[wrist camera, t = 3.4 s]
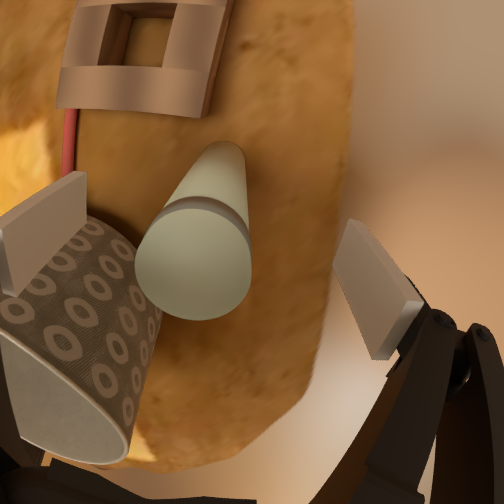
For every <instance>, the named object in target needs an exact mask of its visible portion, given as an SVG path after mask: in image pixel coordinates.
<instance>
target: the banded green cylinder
mask: <svg viewBox="0 0 504 504" xmlns="http://www.w3.org/2000/svg"><path fill="white" fill-rule="evenodd" d="M251 268H252V247H251V238H250V233H249V219H248V203H247V186H246V169H245V158H244V155H243V153H242V151H241V150H240V148H239V147H238V146H236V145H235V144H233V143H231V142H227V141H217V142H214V143H212V144H210V145H208V146H207V147H206V148H205V149H204V151H203V152H202V153H201V155H200V156H199V157H198V159H197V160H196V162H195V163H194V164H193V166H192V167H191V168H190V170H189V171H188V173H187V174H186V175H185V177H184V178H183V180H182V181H181V183H180V184H179V185H178V187H177V188H176V190H175V191H174V193H173V194H172V196H171V197H170V199H169V200H168V202H167V203H166V205H165V206H164V208H163V209H162V210H161V211H160V212H159V213H158V215H157V216H156V217H155V219H154V220H153V222H152V224H151V225H150V227H149V228H148V230H147V231H146V233H145V235H144V237H143V240H142V242H141V244H140V245H139V247H138V250H137V253H136V257H135V274H136V278H137V281H138V284H139V286H140V288H141V290H142V291H143V293H144V294H145V296H146V297H147V298H148V299H149V300H150V301H151V302H152V303H153V304H154V305H155V306H157V307H158V308H159V309H161V310H163V311H164V312H166V313H168V314H170V315H173V316H175V317H178V318H182V319H187V320H209V319H214V318H217V317H220V316H223V315H225V314H227V313H229V312H230V311H232V310H233V309H234V308H236V307H237V306H238V305H239V304H240V303H241V302H242V301H243V299H244V298H245V296H246V294H247V292H248V290H249V287H250V284H251V278H252V269H251Z"/></svg>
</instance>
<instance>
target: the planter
mask: <svg viewBox="0 0 504 504" xmlns="http://www.w3.org/2000/svg"><path fill="white" fill-rule="evenodd" d="M136 253H137V249H136V248H135V247H134V246H133V245H132V244H131V243H130V242H129V241H128V240H127V239H126V238H125V237H124V236H123V235H121V234H120V233H119V232H118V231H116V230H115V229H113V228H112V227H110V226H109V225H107V224H106V223H104V222H102V221H100V220H98V219H96V218H94V217H92V216H89V215H87V223H86V224H85V225H84V226H83V227H82V228H81V229H80V230H79V231H78V232H77V233H76V234H75V235H74V236H73V237H72V238H71V239H70V240H69V241H68V242H67V243H66V244H65V245H64V246H63V247H62V248H61V249H60V250H59V251H58V252H57V253H56V254H55V255H54V256H53V257H52V258H51V259H50V260H49V261H48V263H47V264H46V265H45V266H44V267H43V268H42V269H41V270H40V271H39V272H38V274H37V275H36V276H35V277H34V278H33V279H32V280H31V281H30V283H29V284H28V285H27V286H26V287H25V288H24V290H23V291H22V292H21V293H20V294H19V296H18V297H17V298H16V297H13V296H10V295H7V294H4V293H3V291H2V288H1V284H0V346H1V353H2V360H3V366H4V372H5V377H6V382H7V387H8V392H9V396H10V401H11V405H12V409H13V413H14V417H15V420H16V424H17V427H18V431H19V434H20V437H21V438H22V439H24V440H26V441H28V442H29V443H31V444H33V445H35V446H37V447H39V448H41V449H43V450H46V451H48V452H50V453H53V454H55V455H58V456H61V457H64V458H67V459H70V460H74V461H78V462H82V463H88V464H97V465H106V464H113V463H117V462H120V461H121V460H123V459H124V458H125V457H126V456H127V454H128V452H129V447H130V443H131V438H132V434H133V429H134V425H135V420H136V416H137V412H138V408H139V404H140V399H141V395H142V391H143V388H144V384H145V380H146V376H147V372H148V368H149V365H150V361H151V357H152V354H153V350H154V346H155V343H156V339H157V336H158V332H159V329H160V326H161V322H162V316H163V310H161V309H159V308H158V307H157V306H155V305H154V304H153V303H152V302H151V301H150V300H149V299H148V298H147V297H146V296H145V294H144V293H143V291H142V290H141V288H140V286H139V284H138V281H137V278H136V274H135V257H136Z"/></svg>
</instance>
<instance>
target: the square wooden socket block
mask: <svg viewBox="0 0 504 504" xmlns="http://www.w3.org/2000/svg"><path fill="white" fill-rule="evenodd" d="M234 1H235V0H77V2H76V5H75V9H74V12H73V16H72V20H71V23H70V27H69V32H68V36H67V40H66V45H65V49H64V54H63V60H62V65H61V71H60V77H59V84H58V91H57V99H56V108H76V109H108V110H125V111H138V112H150V113H160V114H169V115H177V116H185V117H192V118H199V119H200V118H203V117H205V116H207V115H208V112H209V107H210V102H211V97H212V92H213V87H214V83H215V78H216V74H217V69H218V65H219V60H220V56H221V52H222V47H223V43H224V39H225V35H226V31H227V27H228V23H229V19H230V16H231V12H232V8H233V4H234ZM133 18H173V22H172V26H171V30H170V34H169V38H168V42H167V46H166V51H165V55H164V60H163V65H162V67H146V66H122V63H123V58H124V53H125V48H126V44H127V39H128V35H129V31H130V27H131V23H132V19H133Z"/></svg>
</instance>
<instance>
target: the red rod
mask: <svg viewBox="0 0 504 504" xmlns="http://www.w3.org/2000/svg"><path fill="white" fill-rule="evenodd" d="M77 110H78V109H76V108H66V111H65V122H64V135H63V153H62V177H64V176H66V175H68V174H70V173H71V172H73V166H74V144H75V131H76V119H77Z"/></svg>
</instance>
